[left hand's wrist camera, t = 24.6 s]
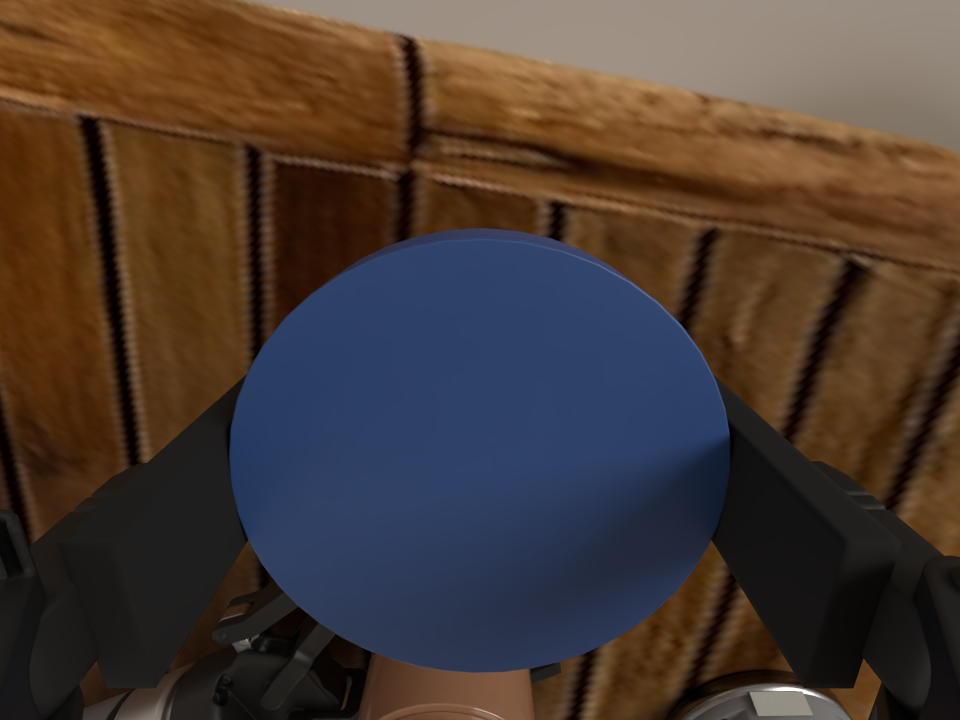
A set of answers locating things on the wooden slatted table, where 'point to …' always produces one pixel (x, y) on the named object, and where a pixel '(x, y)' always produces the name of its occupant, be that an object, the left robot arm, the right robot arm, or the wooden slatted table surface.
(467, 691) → the jar
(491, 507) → the lid
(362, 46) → the wooden slatted table surface
